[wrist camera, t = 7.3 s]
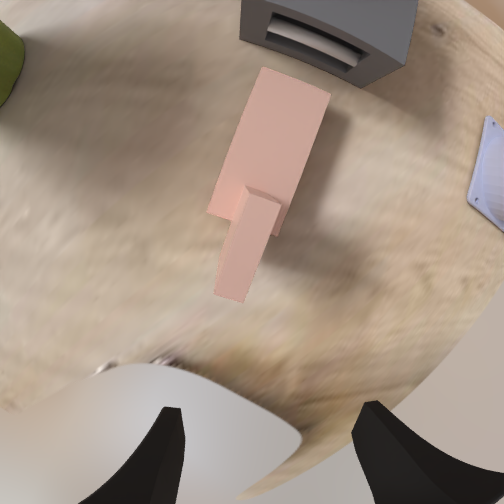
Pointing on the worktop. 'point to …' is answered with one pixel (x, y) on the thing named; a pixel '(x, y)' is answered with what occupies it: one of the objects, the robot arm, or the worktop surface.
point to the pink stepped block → (263, 172)
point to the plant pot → (9, 60)
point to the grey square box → (334, 33)
